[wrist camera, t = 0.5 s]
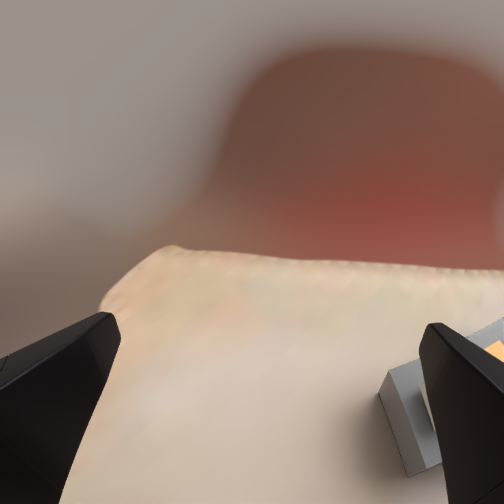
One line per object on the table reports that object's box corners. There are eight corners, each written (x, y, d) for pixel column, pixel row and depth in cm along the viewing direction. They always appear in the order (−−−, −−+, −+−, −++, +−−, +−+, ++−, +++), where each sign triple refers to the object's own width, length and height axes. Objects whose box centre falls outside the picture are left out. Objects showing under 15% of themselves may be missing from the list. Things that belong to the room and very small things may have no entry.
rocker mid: (516, 381, 13) (523, 372, 12) (489, 401, 13) (496, 392, 12) (494, 349, 16) (499, 339, 15) (466, 365, 16) (472, 355, 15)
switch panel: (536, 394, 14) (559, 373, 11) (407, 477, 14) (426, 469, 11) (502, 333, 20) (519, 307, 18) (378, 392, 20) (388, 370, 18)
